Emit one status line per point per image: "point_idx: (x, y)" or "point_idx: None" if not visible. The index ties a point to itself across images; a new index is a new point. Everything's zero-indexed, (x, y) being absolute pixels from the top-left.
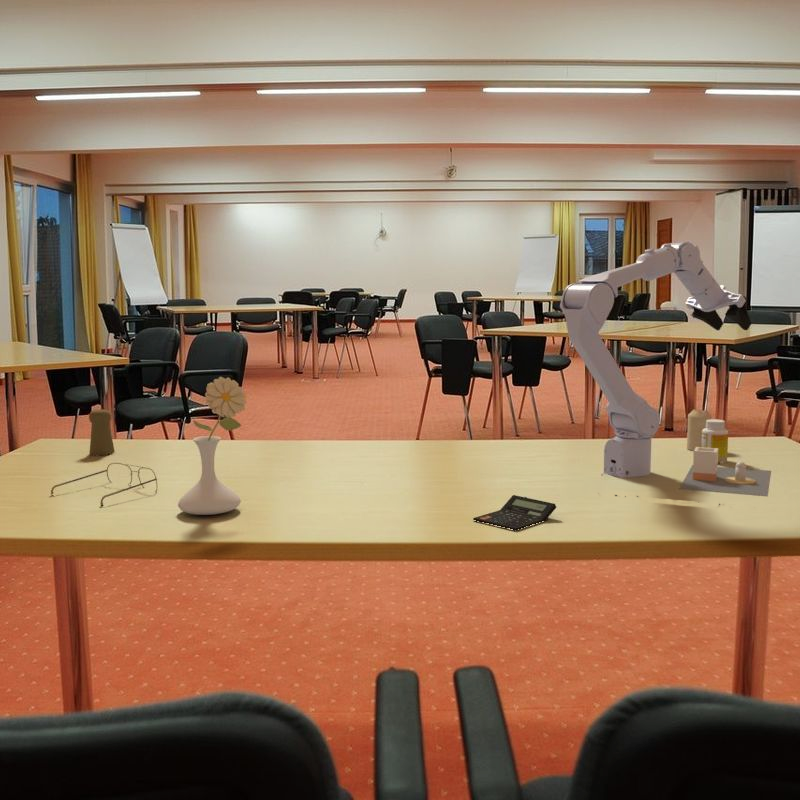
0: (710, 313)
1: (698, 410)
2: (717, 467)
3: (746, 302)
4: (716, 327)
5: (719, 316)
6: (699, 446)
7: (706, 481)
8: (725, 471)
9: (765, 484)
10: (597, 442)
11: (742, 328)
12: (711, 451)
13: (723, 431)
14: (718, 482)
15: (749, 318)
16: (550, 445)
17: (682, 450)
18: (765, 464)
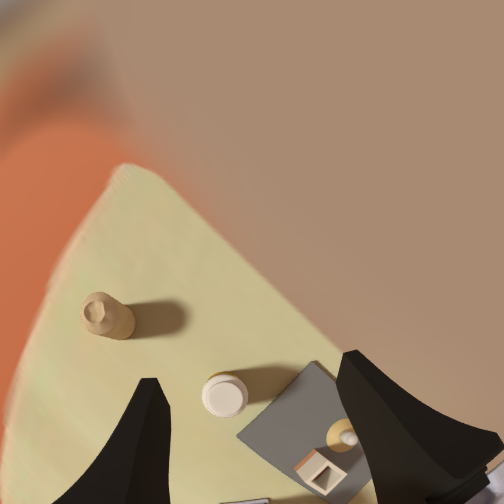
0: (153, 497)
1: (87, 305)
2: (319, 453)
3: (473, 429)
4: (170, 429)
5: (145, 415)
6: (129, 333)
7: None
8: (292, 422)
9: None
10: (29, 404)
11: (342, 400)
12: (340, 477)
13: (247, 396)
14: (338, 461)
15: (378, 369)
16: (32, 465)
17: (114, 349)
18: (250, 316)
